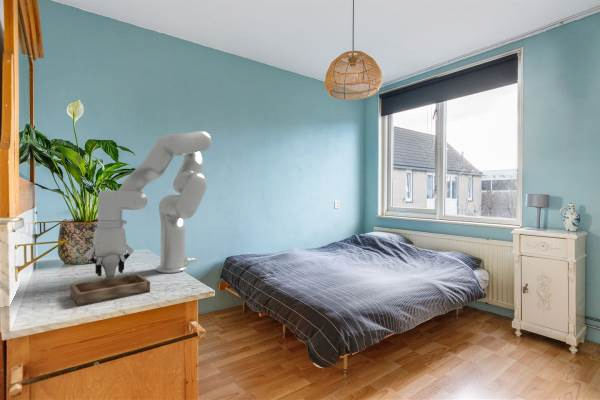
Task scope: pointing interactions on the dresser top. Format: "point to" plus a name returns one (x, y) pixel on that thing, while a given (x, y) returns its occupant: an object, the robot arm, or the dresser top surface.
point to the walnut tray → (108, 289)
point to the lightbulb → (110, 265)
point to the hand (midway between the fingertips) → (110, 273)
